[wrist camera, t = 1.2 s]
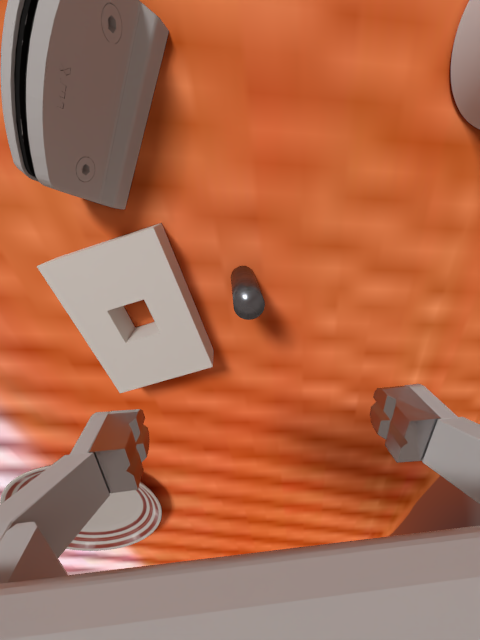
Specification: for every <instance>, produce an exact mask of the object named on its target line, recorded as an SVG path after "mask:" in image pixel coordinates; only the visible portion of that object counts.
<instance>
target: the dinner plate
mask: <svg viewBox="0 0 480 640" xmlns="http://www.w3.org/2000/svg"><path fill="white" fill-rule="evenodd" d="M50 466H51V465H50ZM50 466H44V467H41V468H37V469H34V470H31V471H28V472H26V473H24V474H22V475H20V476H18V477H17V478H15V479H14V480H13V481H11V482H10V483H9V484H8V485H7V486H6V488H5V489H4V491H3V493H2V495H1V500H0V505H1V504H2V503H3V502H5V501H6V500H7V499H8V498H10V497H11V496H12V495H14V494H15V493H16V492H17V491H19V490H20V489H21V488H23V487H24V486H25V485H27V484H28V483H29V482H30V481H32V480H33V479H34V478H36V477H37V476H38V475H40V474H41V473H42V472H43V471H45V470H46V469H47V468H49V467H50ZM161 517H162V509H161V505H160V502H159V500H158V499H157V497H156V496H155V494H154V493H153V492H152V491H151V490H150V489H149V488H148V487H147V486H146V485H144V484H143V483H142V482H140V484H139V488H138V490H132V491H125V492H117V493H110V496H109V497H108V498H107V499H106V501H105V502H104V503H103V504H102V506H101V507H100V508H99V509H98V510H97V512H96V513H95V514H94V515H93V516H92V518H91V519H90V520H89V521H88V523H87V524H86V525H85V526H84V527H83V529H82V530H81V531H80V532H79V533H78V535H77V536H76V537H75V538H74V539H73V541H72V542H71V543H70V544H69V546H68V547H67V548H66V549H72V550H82V551H98V550H109V549H116V548H121V547H125V546H128V545H131V544H134V543H136V542H139V541H141V540H142V539H144V538H146V537H147V536H149V535H150V534H151V533H152V532H153V531H154V530H155V529H156V528H157V527H158V525H159V523H160V521H161Z"/></svg>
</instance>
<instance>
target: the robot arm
mask: <svg viewBox="0 0 480 640" xmlns="http://www.w3.org/2000/svg"><path fill="white" fill-rule="evenodd" d="M451 86H452V92H453V96H454V99H455V102H456V105H457V107H458V109H459V111H460V113H461V114H462V115H463V117H464V118H465V119H466V120H467V121H468V122H469V123H470V124H471V125H473V126H474V127H476V128H478V129H480V0H469V2H468V4H467V6H466V8H465V11H464V13H463V15H462V18H461V21H460V24H459V27H458V30H457V33H456V37H455V41H454V45H453V51H452V58H451ZM373 398H374V399H375V400H376V403H375V404H374V405H373V406H372V407H371V411H370V418H371V423H372V425H373V428H374V429H375V431H376V432H377V434H378V435H380V436H381V437H383V438H384V439H386V441H385V446H386V447H387V449H388V450H389V452H390V453H391V455H392V456H393V458H394V459H395V461H396V462H411V461H422V462H423V463H424V464H426V465H427V466H428V467H430V468H431V469H433V470H434V471H435V472H437V473H438V474H439V475H441V476H442V477H443V478H445V479H446V480H448V481H449V482H450V483H452V484H453V485H454V486H456V487H457V488H459V489H460V490H461V491H463V492H464V493H465V494H467V495H468V496H469V497H471V498H472V499H474V500H475V501H477V502H478V503H479V504H480V424H477V423H475V422H473V421H471V420H468V419H466V418H464V417H457V416H456V415H455V414H454V413H453V412H452V411H451V410H450V409H449V408H447V407H446V406H445V405H444V404H443V403H442V402H441V401H440V400H439V399H438V398H436V397H435V396H434V395H433V394H432V393H431V392H430V391H429V390H428V389H427V388H426V387H424V386H423V385H421V384H413V385H405V386H395V387H385V388H377V389H376V390H375V392H374V396H373ZM144 420H145V416H144V413H143V410H141V409H137V410H122V411H111V412H96V413H94V414H93V415H92V416H91V418H90V419H89V421H88V423H87V425H86V426H85V428H84V430H83V432H82V433H81V435H80V437H79V439H78V441H77V442H76V444H75V446H74V448H73V449H72V451H71V453H70V455H64V456H63V457H62V458H60V459H59V460H58V461H56V462H55V463H54V464H53V465H51V466H50V467H49V468H47V469H46V470H45V471H43V472H42V473H41V474H40V475H38V476H37V477H36V478H34V479H33V480H32V481H30V482H29V483H28V484H27V485H25V486H24V487H23V488H21V489H20V490H19V491H17V492H16V493H15V494H14V495H12V496H11V497H10V498H8V499H7V500H6V501H5V502H3V503H2V504H1V505H0V640H480V526H472V527H464V528H456V529H448V530H439V531H431V532H423V533H414V534H406V535H398V536H389V537H381V538H373V539H364V540H356V541H348V542H339V543H331V544H323V545H315V546H306V547H298V548H290V549H282V550H274V551H265V552H257V553H249V554H241V555H232V556H224V557H216V558H208V559H199V560H191V561H183V562H175V563H166V564H158V565H150V566H142V567H133V568H125V569H117V570H109V571H100V572H92V573H84V574H76V575H67V572H66V570H65V569H64V567H63V566H62V564H61V563H60V561H59V559H58V558H59V556H60V555H61V554H62V553H63V552H64V550H65V549H66V548H67V547H68V546H69V544H70V543H71V542H72V541H73V539H74V538H75V537H76V536H77V535H78V533H79V532H80V531H81V530H82V529H83V527H84V526H85V525H86V524H87V523H88V521H89V520H90V519H91V518H92V516H93V515H94V514H95V513H96V512H97V510H98V509H99V508H100V507H101V506H102V504H103V503H104V502H105V501H106V499H107V498H108V497H109V496H110V493H117V492H125V491H132V490H138V488H139V484H140V481H141V477H142V473H143V466H142V461H143V460H144V459H145V458H146V457H147V454H148V450H149V431H148V428H147V427H146V426H145V425H144V424H143V423H144Z"/></svg>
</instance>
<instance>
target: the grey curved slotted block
mask: <svg viewBox="0 0 480 640" xmlns="http://www.w3.org/2000/svg"><path fill="white" fill-rule="evenodd" d="M168 33H169V31H168V29H167V28H166V26H165V25H164V24H163V22H162V21H161V19H160V18H159V17H158V16H157V15H155V14H154V13H153V12H152V11H151V10H150V9H148V8H147V7H146V6H145V5H144V4H142V3H141V2H140V1H139V0H8V4H7V8H6V13H5V20H4V27H3V36H2V47H1V93H2V105H3V114H4V121H5V128H6V133H7V137H8V142H9V147H10V150H11V154H12V158H13V161H14V164H15V165H16V167H17V168H18V169H19V170H21V171H22V172H23V173H24V174H25V175H27V176H28V177H29V178H31V179H33V180H36V181H38V182H40V183H41V184H43V185H44V186H47V187H50V188H53V189H56V190H58V191H61V192H64V193H68V194H71V195H74V196H77V197H80V198H83V199H86V200H89V201H92V202H95V203H98V204H102V205H105V206H109V207H112V208H116V209H124V210H125V207H126V203H127V199H128V195H129V191H130V187H131V183H132V179H133V175H134V171H135V167H136V163H137V159H138V155H139V151H140V147H141V143H142V139H143V135H144V130H145V126H146V122H147V118H148V114H149V110H150V106H151V102H152V98H153V94H154V90H155V86H156V82H157V78H158V74H159V70H160V66H161V62H162V58H163V54H164V49H165V45H166V41H167V37H168Z"/></svg>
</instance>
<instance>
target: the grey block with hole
mask: <svg viewBox="0 0 480 640" xmlns="http://www.w3.org/2000/svg"><path fill="white" fill-rule="evenodd" d="M37 267H38V269H39V271H40V272H41V274H42V275H43V277H44V278H45V280H46V281H47V283H48V284H49V286H50V287H51V289H52V290H53V292H54V293H55V295H56V296H57V298H58V299H59V301H60V302H61V304H62V305H63V307H64V309H65V310H66V312H67V313H68V315H69V316H70V318H71V319H72V321H73V322H74V324H75V325H76V327H77V328H78V330H79V331H80V333H81V334H82V336H83V337H84V339H85V340H86V342H87V344H88V345H89V347H90V348H91V350H92V351H93V353H94V354H95V356H96V357H97V359H98V360H99V362H100V363H101V365H102V366H103V368H104V369H105V371H106V372H107V374H108V375H109V377H110V378H111V380H112V382H113V383H114V385H115V386H116V388H117V389H118V391H119V392H120V393H123V392H126V391H130V390H133V389H137V388H140V387H144V386H147V385H151V384H154V383H158V382H161V381H165V380H168V379H172V378H175V377H179V376H182V375H186V374H190V373H193V372H197V371H200V370H204V369H207V368H211V367H213V353H214V350H213V347H212V345H211V342H210V340H209V338H208V335H207V333H206V330H205V328H204V325H203V323H202V321H201V318H200V316H199V313H198V311H197V308H196V306H195V303H194V301H193V299H192V296H191V294H190V291H189V289H188V286H187V284H186V282H185V279H184V277H183V274H182V272H181V269H180V267H179V264H178V262H177V260H176V257H175V255H174V252H173V250H172V247H171V245H170V243H169V240H168V238H167V235H166V233H165V230H164V228H163V225H162V223H160V224H157V225H153V226H150V227H147V228H144V229H141V230H138V231H135V232H132V233H129V234H126V235H123V236H120V237H117V238H114V239H111V240H108V241H105V242H102V243H99V244H96V245H93V246H90V247H87V248H84V249H81V250H78V251H75V252H72V253H69V254H66V255H63V256H60V257H57V258H55V259H52V260H50V261H48V262H45V263H43V264H41V265H38V266H37ZM140 300H144V301H145V303H146V305H147V307H148V309H149V311H150V313H151V315H152V317H153V319H154V321H155V322H153V323H149V324H146V325H143V326H139V327H136V328H135V326H134V324H133V323H132V321H131V319H130V317H129V315H128V313H127V312H126V310H125V308H124V305H127V304H131V303H134V302H137V301H140Z"/></svg>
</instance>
